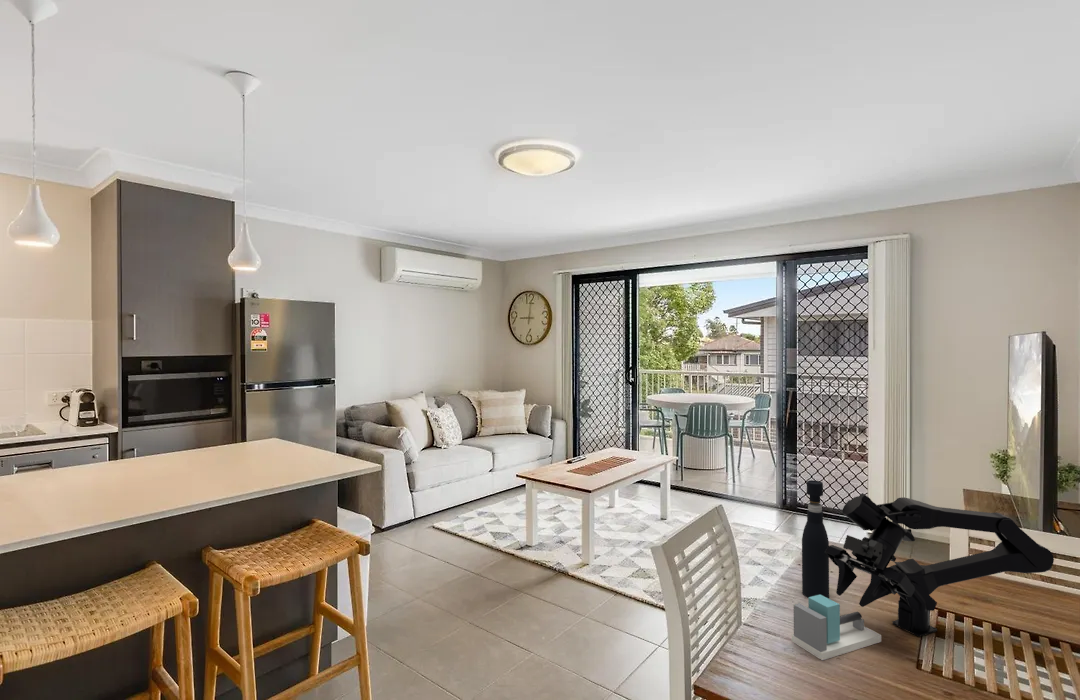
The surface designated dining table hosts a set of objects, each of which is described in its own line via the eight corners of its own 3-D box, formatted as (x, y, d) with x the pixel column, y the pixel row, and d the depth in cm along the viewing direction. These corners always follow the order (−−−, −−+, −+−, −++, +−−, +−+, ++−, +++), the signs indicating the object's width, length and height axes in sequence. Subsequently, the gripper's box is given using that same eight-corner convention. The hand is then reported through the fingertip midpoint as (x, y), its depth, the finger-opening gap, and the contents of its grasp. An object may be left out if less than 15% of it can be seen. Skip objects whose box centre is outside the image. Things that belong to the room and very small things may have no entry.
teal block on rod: (820, 629, 123) (820, 594, 123) (839, 640, 118) (839, 604, 118) (808, 632, 121) (808, 597, 121) (827, 643, 117) (827, 607, 117)
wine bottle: (834, 600, 140) (833, 485, 140) (809, 600, 140) (808, 485, 140) (821, 589, 146) (820, 478, 146) (797, 589, 147) (796, 479, 146)
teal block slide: (848, 624, 128) (848, 588, 128) (881, 641, 121) (881, 603, 121) (791, 641, 121) (791, 603, 121) (822, 660, 114) (821, 620, 114)
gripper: (829, 511, 133) (796, 563, 129) (905, 536, 116) (869, 597, 112) (852, 538, 136) (820, 590, 132) (930, 566, 119) (896, 627, 115)
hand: (849, 599), depth 123 cm, fingers open, 5 cm apart
